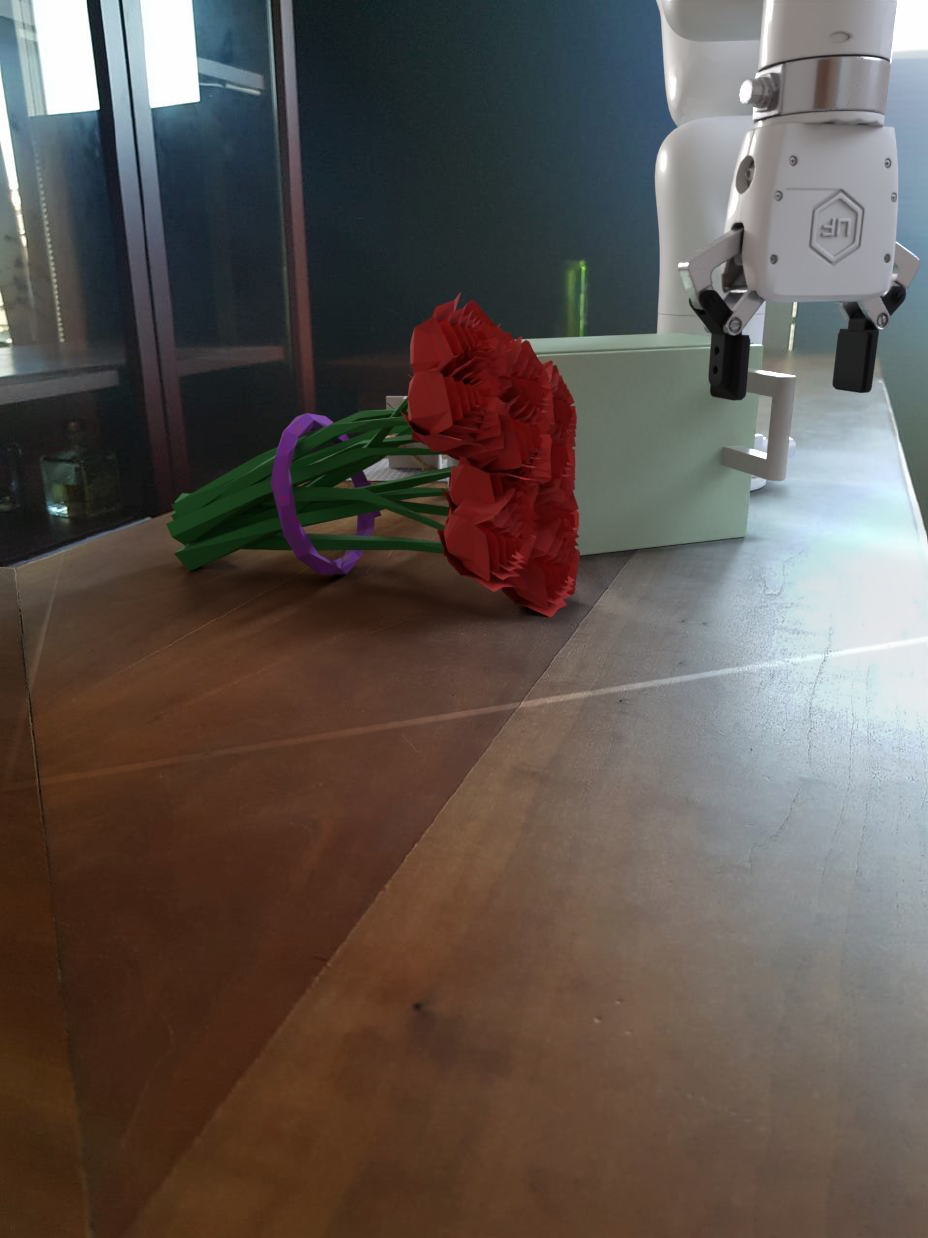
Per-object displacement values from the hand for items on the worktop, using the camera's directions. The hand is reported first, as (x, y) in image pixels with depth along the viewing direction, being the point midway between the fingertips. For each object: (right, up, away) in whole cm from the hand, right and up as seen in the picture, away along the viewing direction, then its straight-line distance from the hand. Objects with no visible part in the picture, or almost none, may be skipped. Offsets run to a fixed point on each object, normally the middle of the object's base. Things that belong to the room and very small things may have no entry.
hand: (790, 394), depth 63 cm
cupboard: (-10, -7, +14) cm, 19 cm away
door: (-7, -11, +6) cm, 14 cm away
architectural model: (-27, +1, +37) cm, 46 cm away
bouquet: (-29, -12, +2) cm, 32 cm away
